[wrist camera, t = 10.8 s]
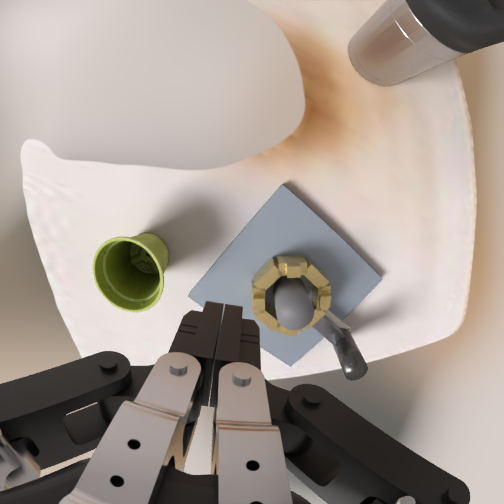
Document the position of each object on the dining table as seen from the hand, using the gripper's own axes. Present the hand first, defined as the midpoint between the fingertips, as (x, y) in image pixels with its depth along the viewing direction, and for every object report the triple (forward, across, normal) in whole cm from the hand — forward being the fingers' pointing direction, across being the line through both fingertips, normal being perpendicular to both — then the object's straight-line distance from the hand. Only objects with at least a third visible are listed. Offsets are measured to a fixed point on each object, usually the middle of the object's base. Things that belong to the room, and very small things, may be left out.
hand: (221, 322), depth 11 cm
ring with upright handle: (+25, -11, +12) cm, 30 cm away
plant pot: (+27, +12, +8) cm, 31 cm away
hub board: (+27, -9, +10) cm, 30 cm away
